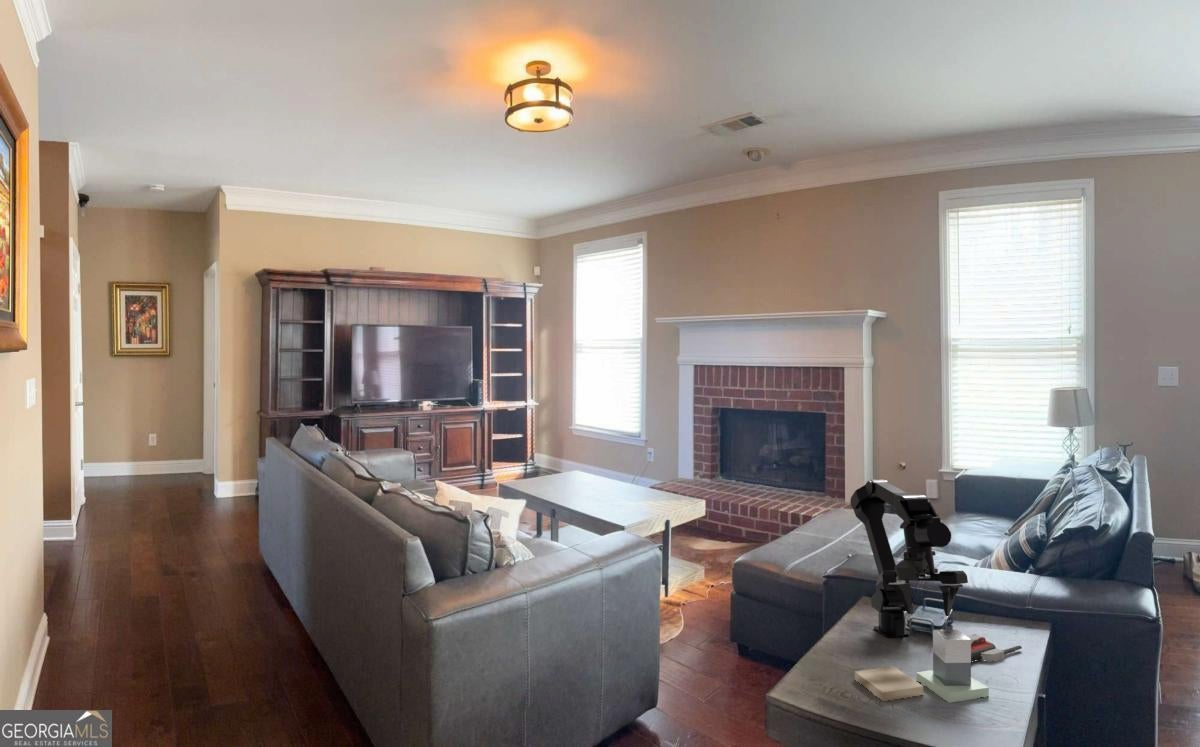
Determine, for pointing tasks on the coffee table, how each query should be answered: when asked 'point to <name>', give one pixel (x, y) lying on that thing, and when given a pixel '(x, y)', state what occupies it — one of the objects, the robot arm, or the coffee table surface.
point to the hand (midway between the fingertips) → (928, 614)
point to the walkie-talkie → (987, 649)
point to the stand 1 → (888, 683)
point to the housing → (952, 657)
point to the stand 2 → (952, 688)
